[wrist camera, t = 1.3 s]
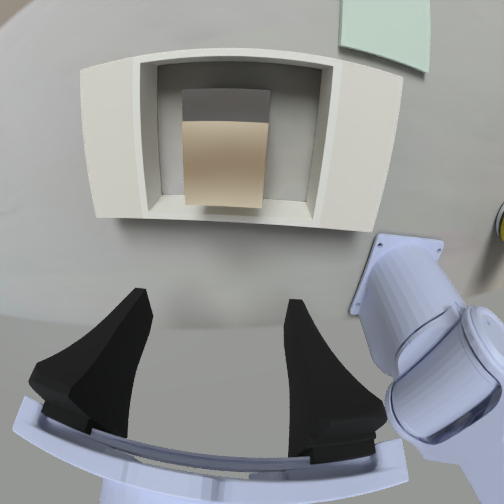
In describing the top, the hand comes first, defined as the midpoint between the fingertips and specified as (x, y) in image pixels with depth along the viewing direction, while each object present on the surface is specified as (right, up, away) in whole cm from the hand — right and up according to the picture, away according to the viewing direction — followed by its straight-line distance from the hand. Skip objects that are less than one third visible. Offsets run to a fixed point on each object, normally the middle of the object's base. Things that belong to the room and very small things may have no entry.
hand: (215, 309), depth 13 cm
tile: (+11, +19, -2) cm, 23 cm away
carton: (+1, +11, +4) cm, 12 cm away
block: (+1, +11, +4) cm, 12 cm away
